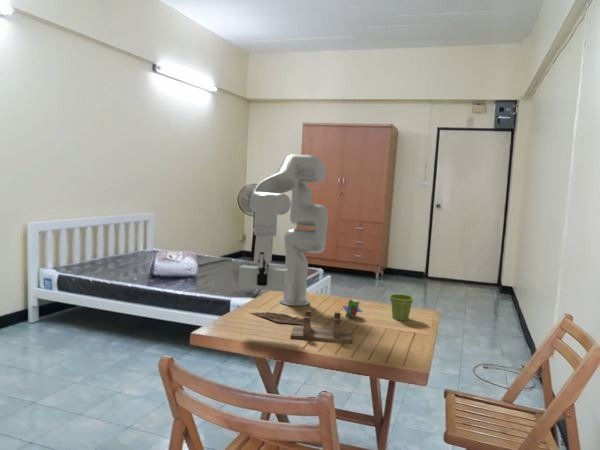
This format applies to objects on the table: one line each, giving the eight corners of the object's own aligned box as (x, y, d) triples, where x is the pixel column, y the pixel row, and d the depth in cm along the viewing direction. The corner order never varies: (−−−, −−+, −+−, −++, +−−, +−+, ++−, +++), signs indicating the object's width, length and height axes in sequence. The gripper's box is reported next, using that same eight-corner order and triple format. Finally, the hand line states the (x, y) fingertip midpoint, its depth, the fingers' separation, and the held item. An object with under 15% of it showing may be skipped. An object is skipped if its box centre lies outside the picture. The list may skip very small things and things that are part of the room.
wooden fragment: (317, 323, 176) (317, 320, 175) (302, 330, 166) (302, 327, 166) (261, 310, 189) (261, 308, 189) (243, 316, 179) (244, 313, 179)
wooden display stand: (293, 328, 167) (294, 308, 166) (350, 332, 165) (352, 313, 165) (290, 338, 156) (291, 317, 155) (351, 343, 154) (353, 322, 154)
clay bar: (242, 284, 166) (242, 265, 165) (287, 289, 163) (287, 268, 162) (238, 287, 162) (239, 267, 161) (284, 291, 159) (285, 271, 158)
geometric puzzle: (366, 314, 182) (361, 295, 186) (350, 315, 179) (346, 296, 183) (358, 321, 187) (354, 302, 191) (343, 322, 185) (338, 303, 189)
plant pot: (406, 323, 180) (407, 301, 180) (383, 318, 186) (385, 296, 185) (416, 318, 188) (418, 297, 187) (394, 313, 194) (396, 293, 193)
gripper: (258, 227, 169) (256, 278, 171) (249, 232, 152) (247, 288, 154) (279, 228, 168) (277, 279, 170) (272, 234, 152) (270, 290, 153)
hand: (263, 283), depth 162 cm, fingers closed on clay bar, 4 cm apart
